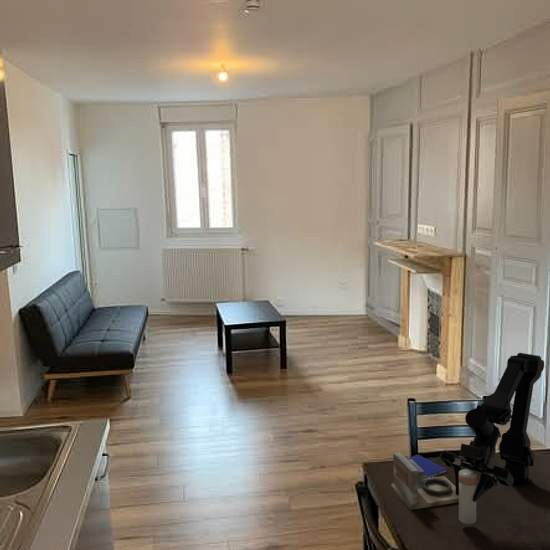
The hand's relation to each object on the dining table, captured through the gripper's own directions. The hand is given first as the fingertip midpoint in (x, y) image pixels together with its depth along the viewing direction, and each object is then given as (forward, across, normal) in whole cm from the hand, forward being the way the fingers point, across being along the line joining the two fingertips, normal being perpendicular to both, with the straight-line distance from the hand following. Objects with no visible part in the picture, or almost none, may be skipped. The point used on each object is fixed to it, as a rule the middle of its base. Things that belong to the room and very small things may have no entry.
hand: (465, 498), depth 149 cm
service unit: (-1, -16, +13) cm, 21 cm away
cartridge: (+4, 0, +6) cm, 7 cm away
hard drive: (-10, -26, +23) cm, 36 cm away
